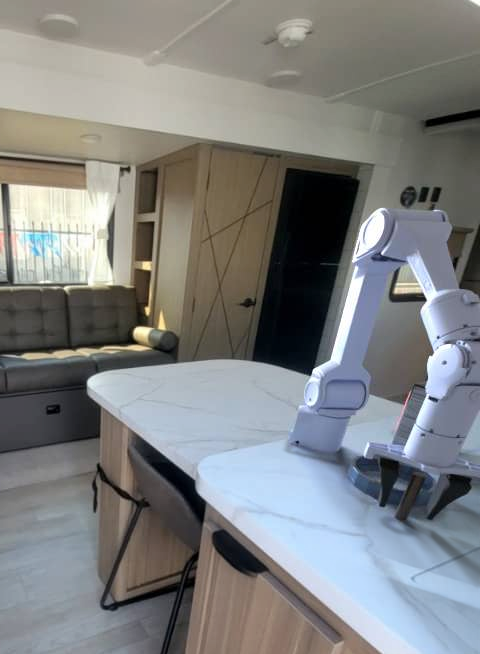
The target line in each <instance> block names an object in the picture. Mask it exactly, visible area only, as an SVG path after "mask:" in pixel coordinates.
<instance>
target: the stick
mask: <svg viewBox="0 0 480 654" xmlns="http://www.w3.org/2000/svg"><path fill="white" fill-rule="evenodd" d="M426 477H427V476H426V475H425V474H423V473H420V472H413V474H412V477H411V479H410V481H409V482H408V483H407V486H406V488H405V489H404V490H405V492H404V495H403V497H402V499H401V502H400V504H399V505H397V509H396V511H395V513H394V519H396V520H398V521H401V522H407V521H408V519H409V517H410V514H411V512H412V510H413V508H414V507H413V506H414V503H415V501H416V499H417V497H418V495H419V493H420V490H421V488H422V486H423V484H424V482H425V479H426Z"/></svg>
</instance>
